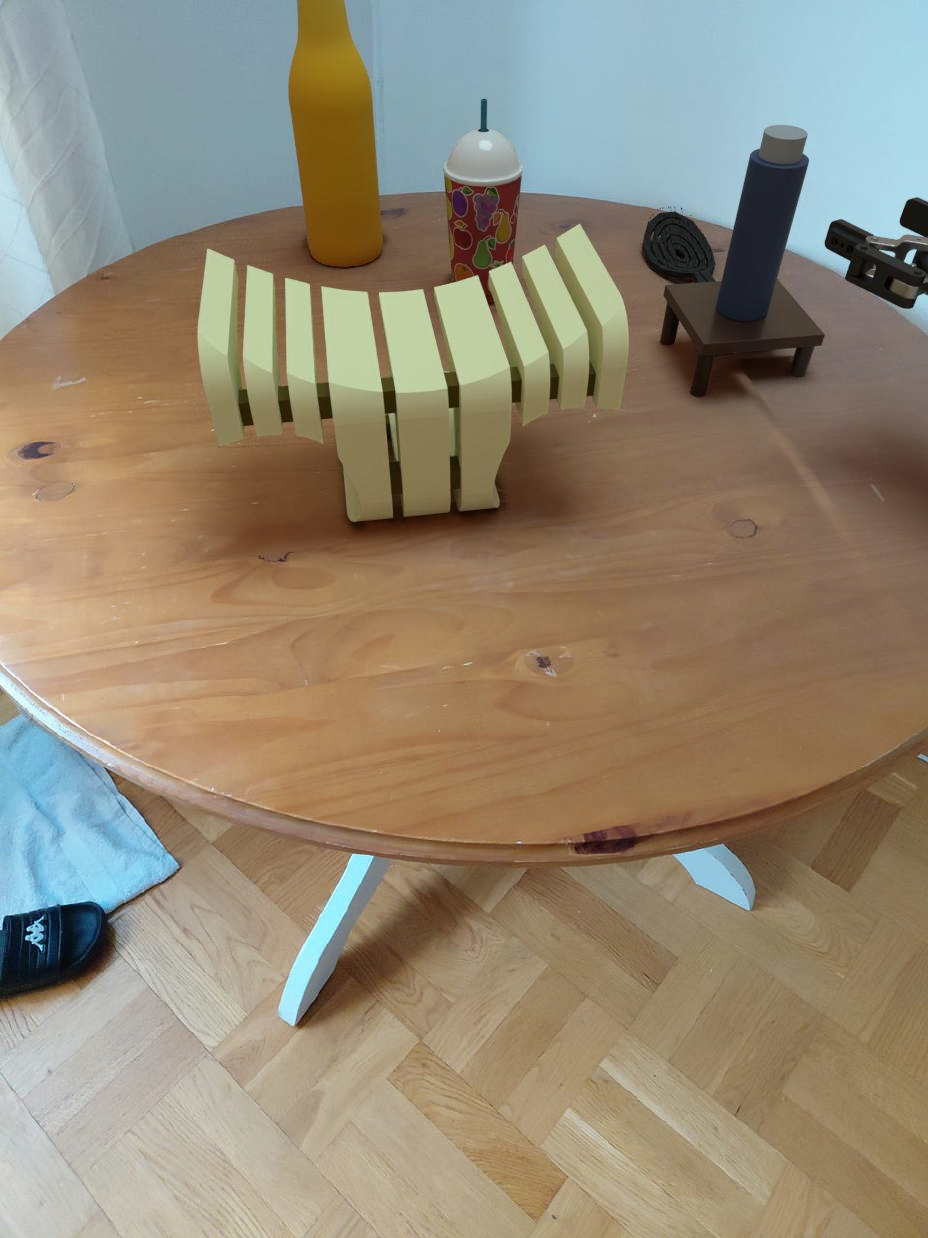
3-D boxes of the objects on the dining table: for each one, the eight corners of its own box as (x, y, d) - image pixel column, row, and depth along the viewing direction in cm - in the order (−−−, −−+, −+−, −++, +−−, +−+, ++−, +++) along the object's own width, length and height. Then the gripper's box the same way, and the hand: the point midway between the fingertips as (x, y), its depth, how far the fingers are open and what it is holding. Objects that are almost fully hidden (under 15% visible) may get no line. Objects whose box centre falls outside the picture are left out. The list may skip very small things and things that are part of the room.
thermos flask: (756, 295, 87) (801, 120, 75) (775, 319, 83) (826, 140, 72) (708, 298, 86) (747, 123, 74) (726, 323, 83) (769, 143, 71)
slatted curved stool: (245, 551, 70) (194, 352, 57) (249, 437, 80) (207, 248, 67) (604, 515, 73) (634, 318, 60) (562, 409, 83) (579, 223, 70)
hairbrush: (691, 312, 91) (637, 205, 107) (684, 343, 93) (632, 234, 109) (767, 309, 91) (702, 202, 107) (758, 340, 94) (695, 232, 110)
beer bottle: (294, 251, 107) (252, -36, 86) (353, 229, 112) (326, -49, 90) (339, 276, 103) (306, -21, 81) (398, 252, 107) (382, -36, 86)
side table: (761, 330, 94) (776, 276, 89) (806, 389, 86) (825, 334, 81) (655, 338, 93) (665, 284, 88) (691, 399, 85) (703, 343, 80)
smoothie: (509, 273, 103) (516, 84, 88) (524, 306, 98) (534, 110, 83) (440, 279, 102) (436, 88, 87) (451, 312, 97) (449, 115, 82)
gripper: (954, 380, 60) (790, 285, 70) (1082, 330, 65) (912, 247, 75) (1003, 277, 55) (817, 189, 64) (1140, 230, 59) (948, 154, 69)
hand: (868, 220), depth 69 cm, fingers open, 8 cm apart
